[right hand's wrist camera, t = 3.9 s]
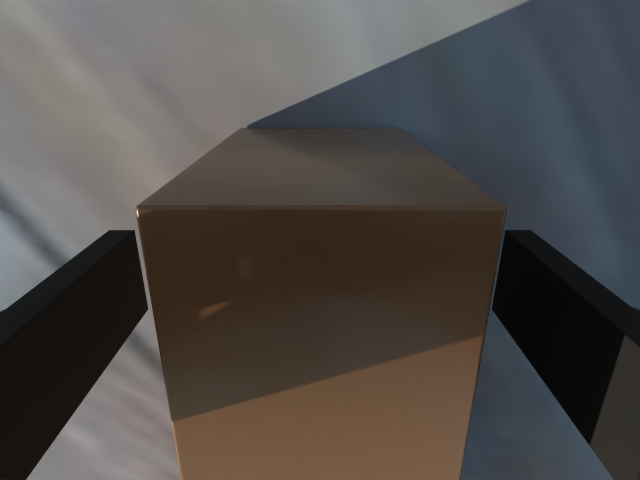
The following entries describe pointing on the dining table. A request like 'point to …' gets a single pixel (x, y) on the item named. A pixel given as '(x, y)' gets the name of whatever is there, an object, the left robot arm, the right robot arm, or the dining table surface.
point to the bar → (320, 305)
